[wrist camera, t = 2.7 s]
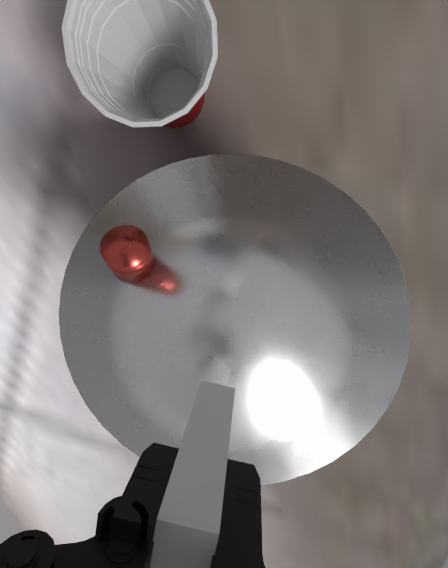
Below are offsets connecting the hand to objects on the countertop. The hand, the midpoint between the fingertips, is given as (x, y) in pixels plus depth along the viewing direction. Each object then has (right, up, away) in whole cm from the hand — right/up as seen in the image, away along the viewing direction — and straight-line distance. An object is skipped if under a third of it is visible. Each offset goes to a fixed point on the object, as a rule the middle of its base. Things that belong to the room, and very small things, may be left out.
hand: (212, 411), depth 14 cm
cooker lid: (+1, +3, +4) cm, 5 cm away
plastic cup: (-4, +25, +20) cm, 32 cm away
